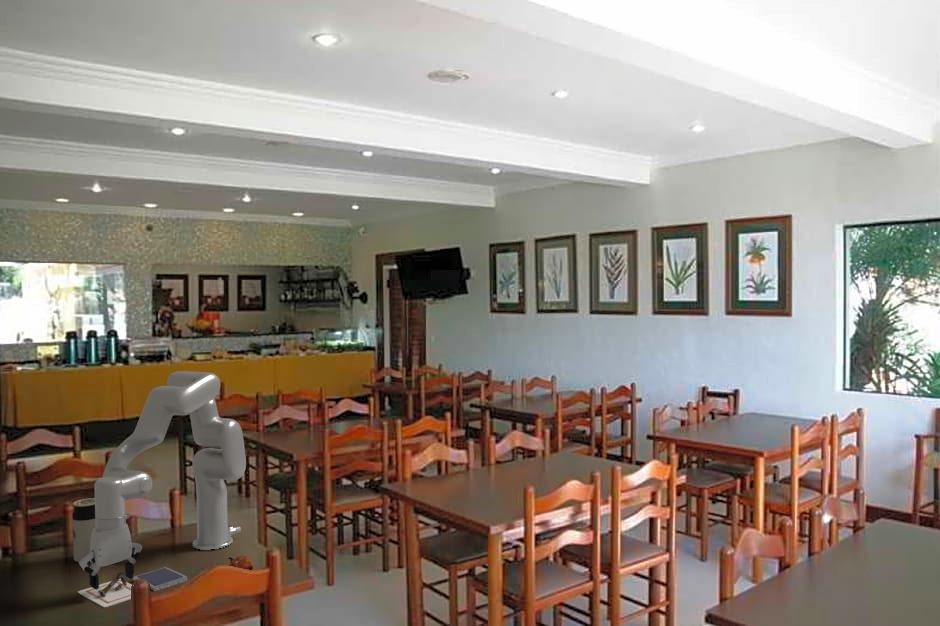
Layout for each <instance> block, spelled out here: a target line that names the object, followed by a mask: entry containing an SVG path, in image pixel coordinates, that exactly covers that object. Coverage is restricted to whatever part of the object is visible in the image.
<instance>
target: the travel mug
mask: <svg viewBox="0 0 940 626" xmlns="http://www.w3.org/2000/svg"><path fill="white" fill-rule="evenodd" d="M72 505H73V507H74V509H73V511H72V514H71V515H72V518H71V519H72V546H73V549H72V550H73V560H74V561H75V562H77V563H79V561H80V560H82V559H83V558H84V557H85V556H87V555H88V554H89V553H90V542H91V535H92V530H93V529H95V528H96V521H95V497H93V498H92V497H91V498H82V499H78V500H76V501H74V502H73V503H72Z"/></svg>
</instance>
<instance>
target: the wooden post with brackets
mask: <svg viewBox="0 0 940 626" xmlns="http://www.w3.org/2000/svg"><path fill="white" fill-rule="evenodd" d="M124 576H125V572H124V571H121V572H118V574H117V575H116V577H115V578H114V579H112V580H111V581H109V582H110V583H109V585H108V586H107V587H105V588H104V589H103V590H99V591H98V592H99V593H100V595H101V596H103V597H105V596H106V595H105V594H106V593H107V591H108V590H109V589H110V588H111V587H113V586H114V585H115V583H117V581H122V583H123V584H124V585H125V586H126V585H127V583H128V582H127V581H126V580H125V578H124ZM119 579H121V580H119ZM126 582H127V583H126ZM123 584H121V585H119V584H118V586H117V587H115V588H116V589H115V591H117V590H119V589H120V588H122V587H121V586H123Z"/></svg>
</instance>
